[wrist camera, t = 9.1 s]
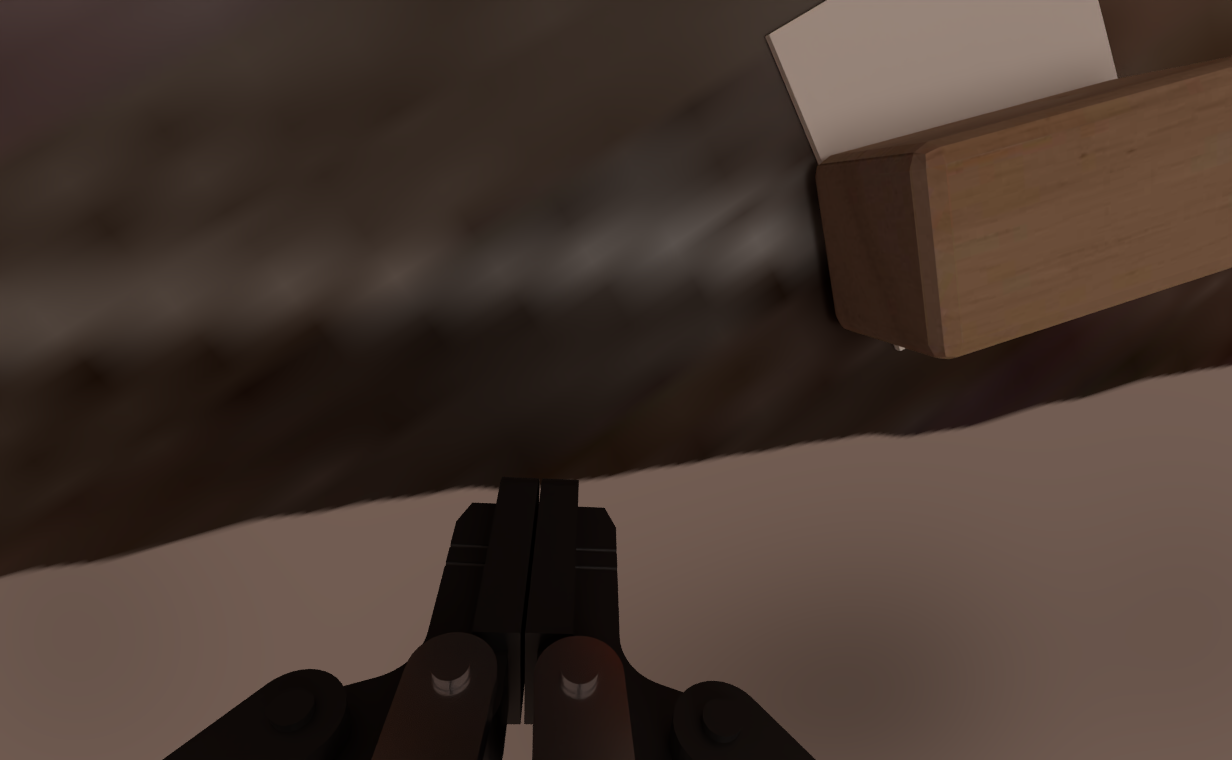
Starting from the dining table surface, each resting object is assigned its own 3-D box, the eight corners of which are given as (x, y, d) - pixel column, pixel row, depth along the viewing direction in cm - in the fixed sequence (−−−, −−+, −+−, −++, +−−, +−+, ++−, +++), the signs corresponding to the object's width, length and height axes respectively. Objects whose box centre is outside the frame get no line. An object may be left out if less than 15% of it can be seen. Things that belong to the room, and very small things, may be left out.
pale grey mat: (765, 36, 35) (768, 34, 35) (1055, -136, 36) (1063, -140, 36) (895, 349, 42) (900, 351, 41) (1139, 195, 43) (1146, 195, 42)
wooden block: (805, 161, 37) (1108, 79, 40) (831, 331, 40) (1111, 244, 43) (921, 145, 28) (1308, 39, 30) (945, 370, 30) (1295, 254, 33)
